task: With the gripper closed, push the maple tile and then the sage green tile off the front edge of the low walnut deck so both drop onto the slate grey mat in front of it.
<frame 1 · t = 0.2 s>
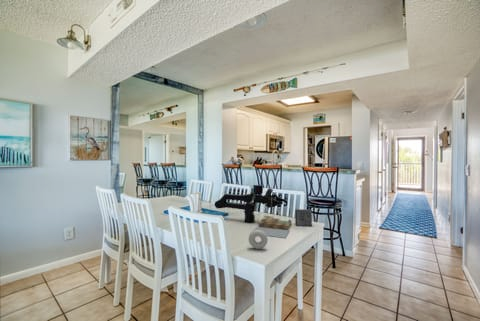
hand: (284, 201, 160), 17 cm above the table, tool horizontal, fingers open, 9 cm apart
small box: (303, 225, 161), on the table
donut: (258, 249, 120), on the table
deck: (275, 225, 159), on the table
sage tile: (284, 221, 158), point 3 cm above the table, touching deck
mat: (270, 232, 145), on the table
maple tile: (267, 220, 162), point 3 cm above the table, touching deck
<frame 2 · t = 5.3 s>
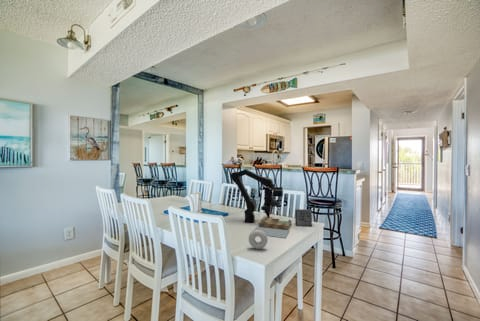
hand: (268, 217, 165), 4 cm above the table, tool pointing down, fingers closed
maple tile: (266, 220, 161), point 3 cm above the table, touching gripper
everything else where it was.
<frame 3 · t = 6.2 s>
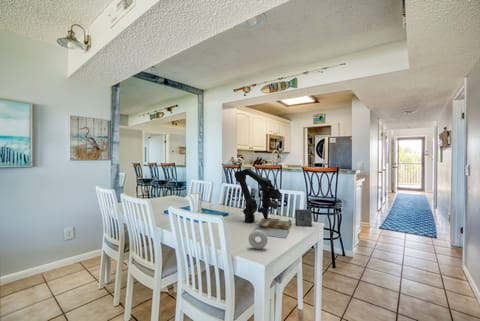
hand: (266, 220, 159), 4 cm above the table, tool pointing down, fingers closed
maple tile: (264, 223, 155), point 3 cm above the table, touching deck, gripper
everything else where it was.
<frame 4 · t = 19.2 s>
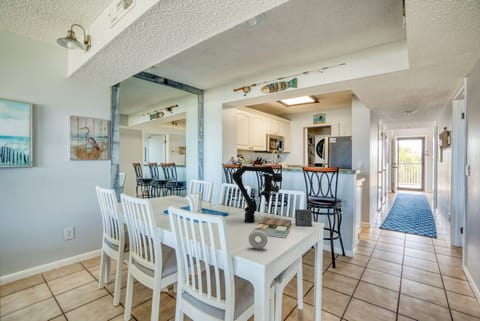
hand: (268, 203, 172), 13 cm above the table, tool pointing down, fingers closed
sage tile: (281, 231, 147), resting on mat
maple tile: (262, 228, 151), resting on mat
everything else where it was.
at the end: maple tile inside the target area (7.2 cm from its centre), resting on mat; sage tile inside the target area (7.4 cm from its centre), resting on mat; small box moved 0.3 cm from its start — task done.
